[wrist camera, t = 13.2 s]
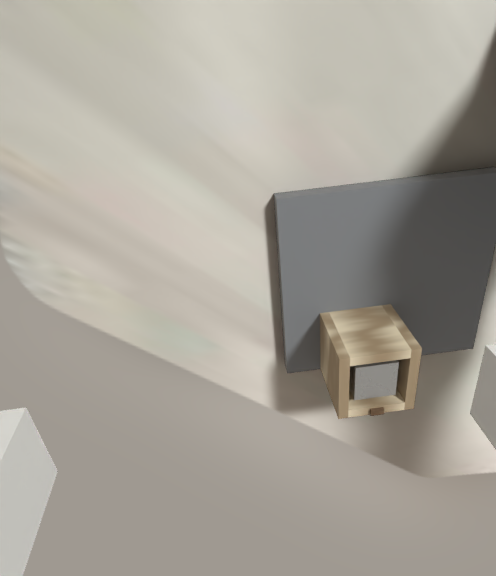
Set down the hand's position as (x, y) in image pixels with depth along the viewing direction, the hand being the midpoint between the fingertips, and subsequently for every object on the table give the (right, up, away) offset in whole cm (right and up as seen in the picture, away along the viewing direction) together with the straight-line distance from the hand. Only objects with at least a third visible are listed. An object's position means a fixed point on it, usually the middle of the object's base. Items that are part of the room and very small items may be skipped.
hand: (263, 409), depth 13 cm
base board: (+13, +5, +30) cm, 32 cm away
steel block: (+10, -1, +32) cm, 34 cm away
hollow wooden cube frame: (+10, -1, +31) cm, 33 cm away
